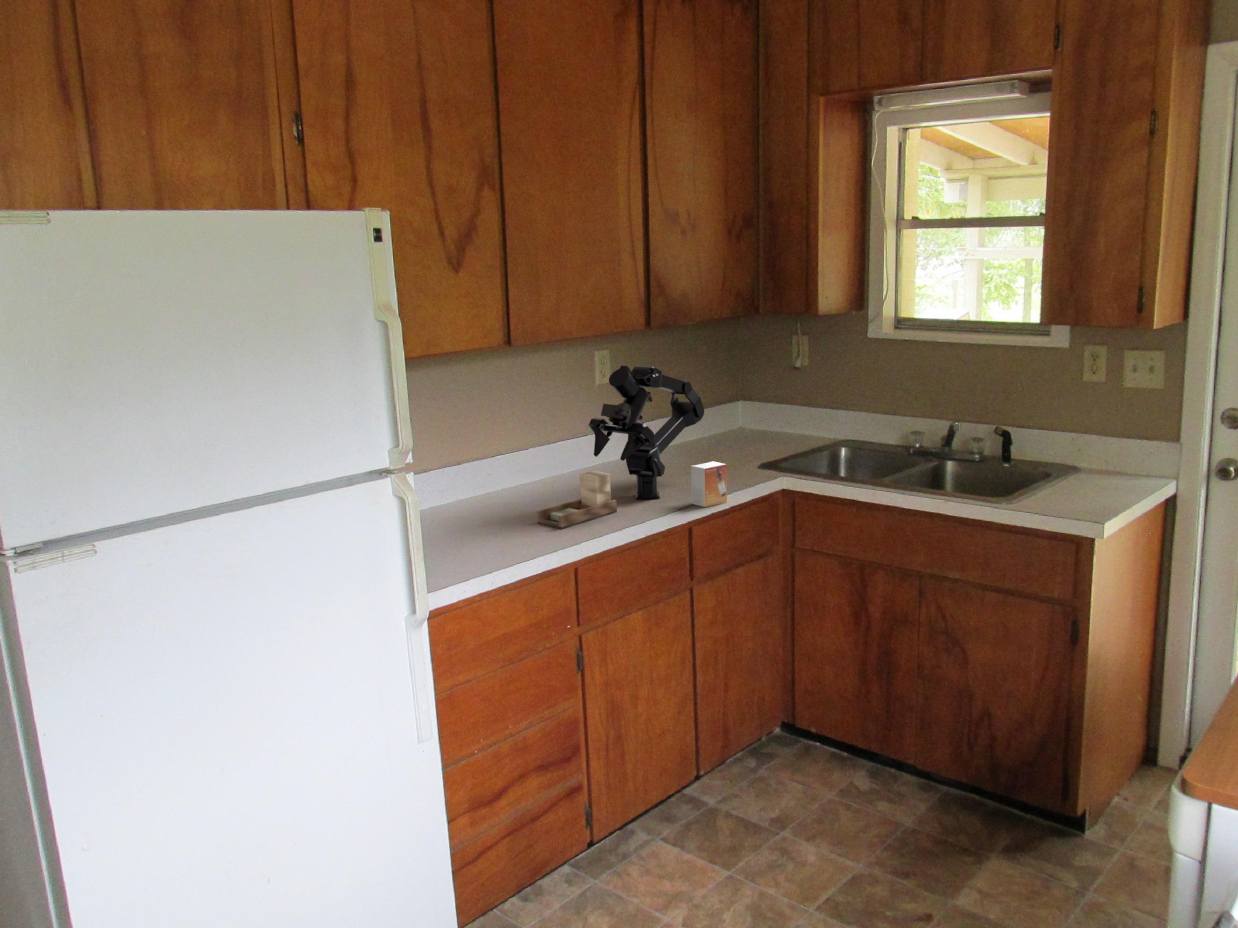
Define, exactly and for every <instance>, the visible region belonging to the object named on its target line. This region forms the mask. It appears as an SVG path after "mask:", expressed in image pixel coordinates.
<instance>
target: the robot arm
mask: <svg viewBox="0 0 1238 928" xmlns="http://www.w3.org/2000/svg"><path fill="white" fill-rule="evenodd" d="M608 383H609V385H610V386H611V387H612V388H613V389H614V390H615V392H616V393H617V394H618V395H619V396H620V397H621V398H623V401H622V402H620V403H617V404H612V403H611V404H609V403H602V408H601V412H600V416H601V417H606V418H608V419H607V420H608V421H609V422H610V423H612V424H610V423H609V422H608V421H607V420H606V419H605V418H598V417H593V418H591V419H590V421H589V423H588V427H589V428H590V430H591V431H592V432H593V433H594V447H593V448H594V449H593V456H594V457H598V456H599V455H600V454H601V453H602V452H603V450H604V448H605V447H606V446H607V444H608V443H609V441H610V440H611V438H610V437H611V436H612V435H613V433H618V434H623V435H624V434H625V435H627V441H626V443H625V445H624V448H623V450H622V452H621V455H620V458H619V459H620V460H621V461H625V463H626V467H627V470H628V473H629V475H631V476H632V475H634V476H635V477H636V491H635V494H634V495H635V499H636V500H650V499H653V500H655V499H661V495H660V491H658V488H659V485H658V477H659V478H660V477H662V476H663V475H665V469H666V466H665V465H664V463H663V462H662V460H661V455H662V453H663V452H664V451H665V450H666V449H667V448H668V447H669V445H670V444H672V443H673V441H674V440H675V439H676V438H677V437H678V436H679V435H680V433H682V432H683V431H684V430H685V429H686V428H689V427H691V426H695V425H696V424H698V423H699V422H700V421H702V419H703V418H704V414H705V408H704V404H703V401H702V398H701V397H700V396H699V394H698V393H697V392H696V391H695V390H694V389H693V386H692V385H691V382H690V381H688V380H684V379H681V378H676V377H674V376H670V375H667V374H664V373H663V371H662V369H660V368H658V367H656V366H648V365H647V366H646V365H635V366H633V368H632V370H631V369H630V367H629V366H628V365H620V366H619V368H617V369H616V370H614V371H613V372H612V373H611V374H610V376H609V377H608ZM647 388H648V389H659V390H662V391H667V392H669V393H671V399H670V401H669V403H670V404H669V405H670V407H671V410H670V411H671V416H670V418H669V419H667V420H666V422H665V423H664V424H663V425H662V426H661V427H660V428H659V429H658V430H657V431H656V432H655V433H654V431H653V430H652V429H651V428H650V427H649V426H648V425H647V424H646V423H643V422H642V423H641V422H638V421H642V420H643V418H644V417H643V416H642V412H643V410H644V408H645V405H646V404H647V402H648V403H653V398H652V395H651V392H650V391H647V390H646V389H647ZM678 395H684V396H685V398H686V400H679V396H678Z"/></svg>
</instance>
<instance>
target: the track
mask: <svg viewBox="0 0 1238 928" xmlns="http://www.w3.org/2000/svg"><path fill="white" fill-rule="evenodd" d="M617 505H618V504H617V499H613V500H612V499H611V501H608V502H604V503H601V504H598V505H594V506H587V505H583V504H581V498H579V499H575V500H571V501H567V502H565V503H562V504H557V505H555V506H550V507H546V508H543V509H540V510H537V512H536V515H537V524H539V525H543V526H547V525H548V527H552V528H556V529H560V530H564V529H567V528H571V527H573V526H576V525H580V524H583V523H587V522H590V521H593V520H596V519H599V518H603V517H606V516H609V515H612V514H615V513H617V512H618V509H617V508H618V507H617Z"/></svg>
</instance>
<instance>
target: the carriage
mask: <svg viewBox="0 0 1238 928" xmlns="http://www.w3.org/2000/svg"><path fill="white" fill-rule="evenodd" d="M579 483H580V485H579V486H580V499H581V504H583V505H587V506H594V505H598V504H601V503H604V502H608V501H611V500H612V496H611V495H612V494H611V473H609V472H607V473H606V472H602V471H598V470H592V471H591V470H590V471H588V472H584V473H580V474H579Z"/></svg>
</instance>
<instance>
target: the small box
mask: <svg viewBox="0 0 1238 928" xmlns="http://www.w3.org/2000/svg"><path fill="white" fill-rule="evenodd" d="M727 468H728V467H727V464H726V463H722V462H717V461H713V460H712V461H709V462H705V463H699V464H695V465H690V482H691V484H690V485H691V489H690V491H691V504H692V505H696V506H699V507H704V508H707V507H711V506H715V505H721V504H726V503H727V502H728V489H727V488H728V484H727V483H728V482H727V481H728V480H727V477H728V476H727Z"/></svg>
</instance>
